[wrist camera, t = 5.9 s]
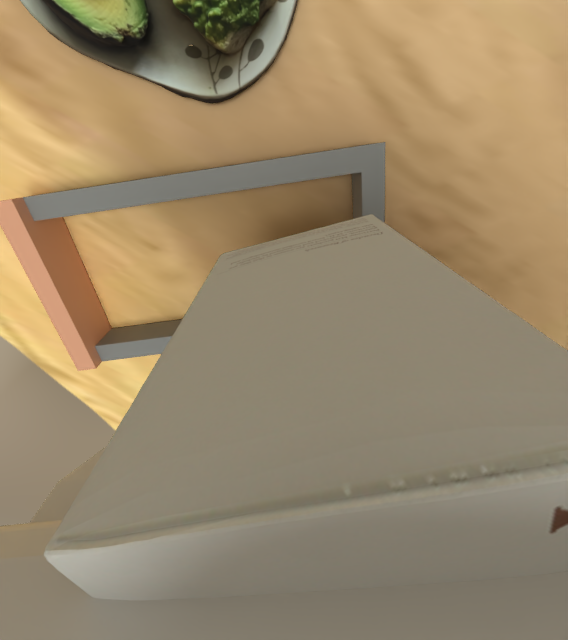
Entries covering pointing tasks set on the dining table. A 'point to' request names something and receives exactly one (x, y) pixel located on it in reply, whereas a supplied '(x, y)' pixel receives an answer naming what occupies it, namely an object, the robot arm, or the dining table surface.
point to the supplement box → (330, 434)
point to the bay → (49, 209)
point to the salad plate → (175, 39)
